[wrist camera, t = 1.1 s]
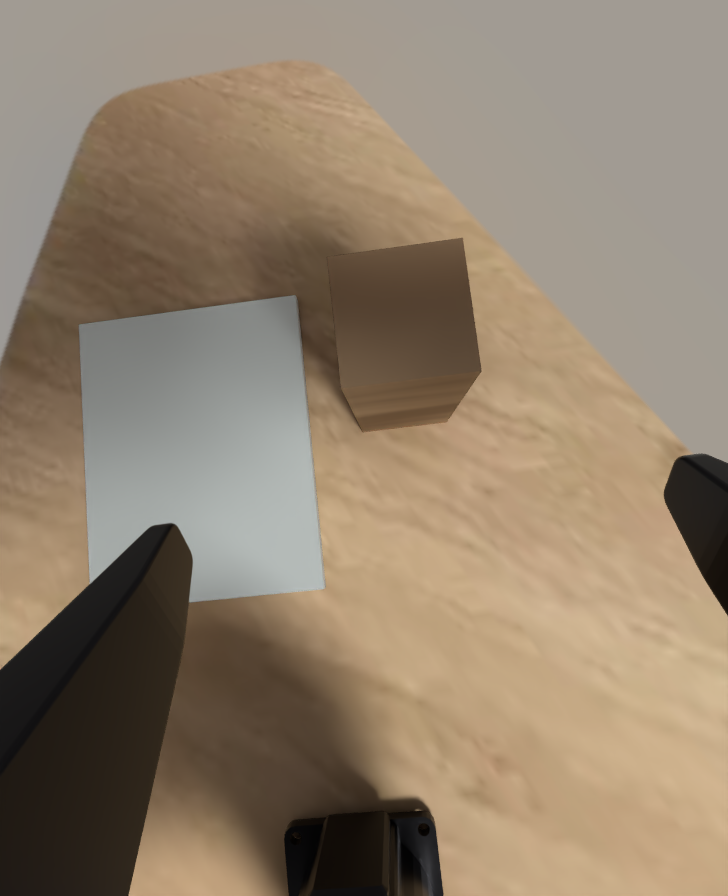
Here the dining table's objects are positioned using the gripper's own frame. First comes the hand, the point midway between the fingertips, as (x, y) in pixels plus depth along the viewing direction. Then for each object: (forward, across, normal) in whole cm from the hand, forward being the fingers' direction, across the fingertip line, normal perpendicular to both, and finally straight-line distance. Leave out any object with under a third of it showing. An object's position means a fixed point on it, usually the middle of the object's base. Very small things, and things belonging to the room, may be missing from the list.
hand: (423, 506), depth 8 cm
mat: (+12, +9, +7) cm, 17 cm away
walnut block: (+14, -1, +5) cm, 14 cm away
